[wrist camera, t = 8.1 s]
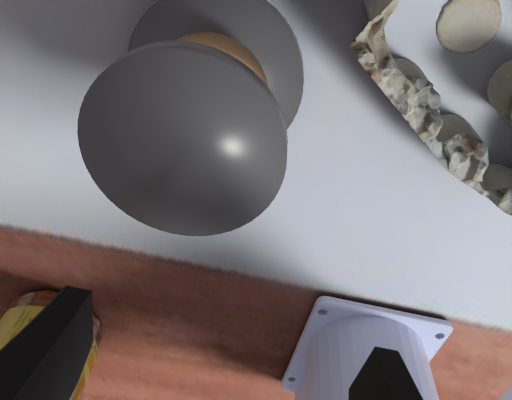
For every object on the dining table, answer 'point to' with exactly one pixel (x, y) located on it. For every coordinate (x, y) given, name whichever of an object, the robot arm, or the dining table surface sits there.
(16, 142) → the dining table surface
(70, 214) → the dining table surface
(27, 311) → the sauce bottle
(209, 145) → the spool
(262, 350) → the dining table surface
